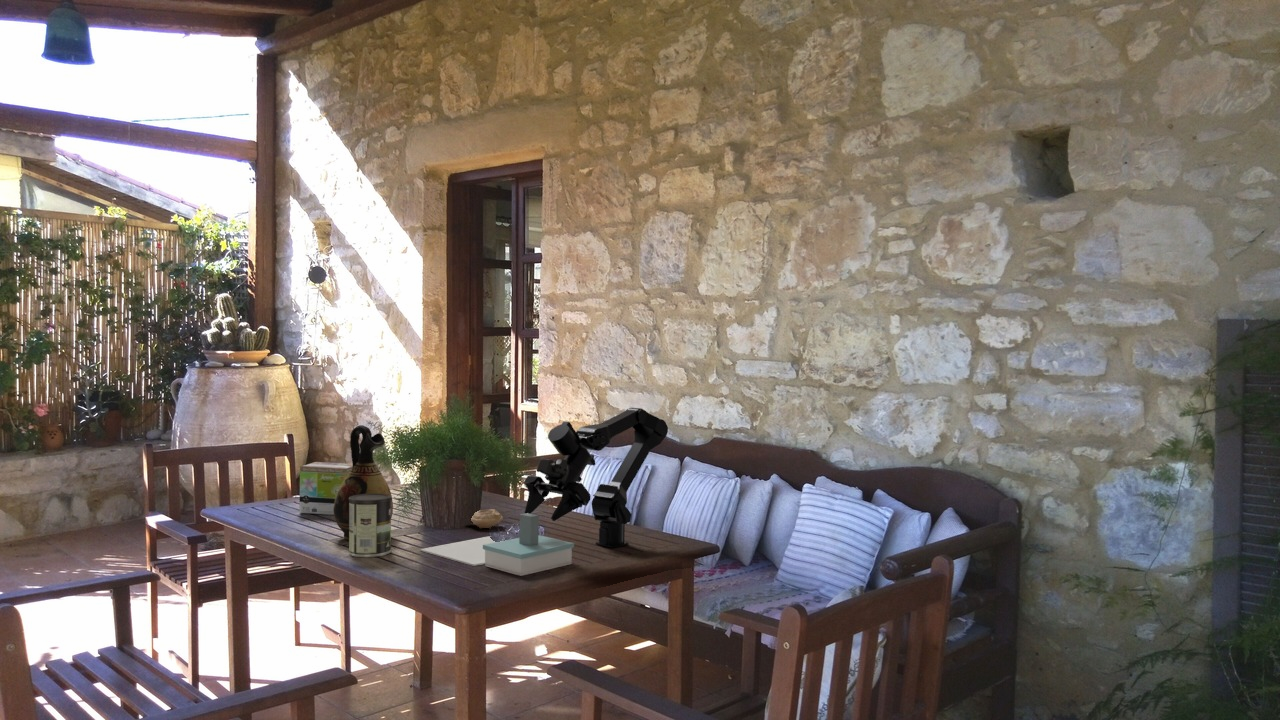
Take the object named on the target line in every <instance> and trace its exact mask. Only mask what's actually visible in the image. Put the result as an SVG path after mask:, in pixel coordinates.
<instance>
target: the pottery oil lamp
mask: <svg viewBox="0 0 1280 720" xmlns="http://www.w3.org/2000/svg"><path fill="white" fill-rule="evenodd" d="M503 519H504V517H503V515H502V514H501V513H500V512H499V511H498V510H496V509H495V508H492V509H481V510H479V511H477V512H475V513H474V515H473V516H472V518H471V521H472V522H473V525H475V526H477V528H478V527H479V528H478V529H482V528H489V529H492V528H493V527H494V526H496V525H497V524H499V523H500V522H501V521H502V520H503ZM492 526H493V527H492ZM491 527H492V528H491Z"/></svg>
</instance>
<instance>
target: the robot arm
mask: <svg viewBox="0 0 1280 720" xmlns="http://www.w3.org/2000/svg"><path fill="white" fill-rule="evenodd" d="M629 429H632V430H634V431H633V435H634V442H633V444H632V445H631V447H630V448H629V450H628V452H627V454H626V456H625V457H624V459H623V461H622V462H621V464H620V465H619V467H618V469H617V471H616V472H615V475H614V476H613V478H612V479H611V481H610V482H609V483H608V484H605V483H600V485H598V488H597V489H596V491H595V493H593V495H592V496H591V494H590V492H589V491H588V489H587V487H585V485H584V484H583V483H582V480H583V478H582V476H581V475H582V474H583V472H584V471H585V469H586V467H587V465H588V466H595V465H596V460H595V454H591V453H590V451H602V450H603V449H604V448H606V447H607V446H608V445H609V444H610V442H611V439H613V437H616V436H618V435H620V434H622V433H624V432H626V431H627V430H629ZM668 430H669V428H668V425H667V423H666V421H665V420H664V419H662V418H659V417H657V416H655V415H653V414H651V413H649V411H646V410H645V409H643V408H642V407H640V408H639V407H629V408H627V409H626V410H624V411H622V412H621V413H619V414H617V415H615V416H613V417H611V418H608V419H606V420H605V421H602V422H601V423H597V424H589V425H583V426H581V427H579V428H578V429H577V431H576V430H575V428H574V427H573V424H571V422H570V421H566V420H563V421H562V423H561V424H558V425H556V426H555V427H552V428H551V429H550V431H549V432H548V434H547V438H548V440H549V441H550V443H551V444H552V445H553V447H554V448H555V450H556V451H557V452H558V454H559V455H560V456H565V457H564V458H563V459H562V458H559V459H557V460H553V459H547V458H540V459H539V462H538V464H537V467H536V470H535V471H536V472H537V473H539V472H540V473H541V474H543V475H545V476H544V478H545V480H546V481H548V483H547V482H545V480H544V479H543V478H542V476H536V475H527V476H526V478H525V479H524V480H523V484H524V485H525V488H526V489H527V491H528V497H527V502H526V505H525V510H524V514H525V513H530V514H533V512H534V511H535V510H536V509H537V508H538V507H539V506H541V504H543V502H544V501H546V499H545V498H546V497H547V496H548V495H549V494H550V493H553V494H558V495H561V499H560V500H559V503H558V505H557V506H556V508H555V510H554V511H553V513H552V515H551V517H550V519H551V521H552V522H555V521H557V520H558V519H561V518H562V517H564V516H565V515H567V514H569V513H571V512H572V511H574V510H577V509H579V508H582V507H583V506H585V507H587V506H588V504H589V503H590V501H591V497H593V498H592V501H591V509H592V512H593V517H594V521H600V522H599V528H598V531H599V532H598V541H595V545H599V546H603V547H607V548H611V549H612V548H618V547H621V546H626V545H627V546H628V545H629V544H630V542H628V541H625V538H626V537H625V536H626V535H625V534H626V533H625V530H626V529H625V525H626V524H627V525H628V523H630V522H631V519H632V517H633V516H632V513H631V512H630V510H629V509H628V507H627V504H628V495H627V494H628V493H627V492H628V491H629V488H630V487H631V485H632V483H633V482H634V480H635V478H636V476H637V474H638V473H639V471H640V469H641V468H642V466H643V464H644V462H645V461H646V459H647V457H648V455H649V454H650V453H651V452H650V451H652V450H653V449H655V448H657V447H658V446H660V445H661V444H662V442H663V441H664V440H665V439H666V437H667V435H668ZM589 450H590V451H589Z"/></svg>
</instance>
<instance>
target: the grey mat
mask: <svg viewBox="0 0 1280 720" xmlns="http://www.w3.org/2000/svg"><path fill="white" fill-rule="evenodd" d="M490 537H491V536H489V535H487V536H483V537H478V538H473V539H467V540H462V541H457V542H451V543H447V544H441V545H436V546H429V547H425V548H420V549H419V551H420V552H423V553H427V554H431V555H433V556H436V557H441V558H445V559H448V560H450V561H451V560H452V561H455V562H458V563H461V564H465V565H469V566H472V567H477V566H481V565H485V550H484V549H483V545H485V544H490V543H495V541H493V540H492V539H491V538H490Z"/></svg>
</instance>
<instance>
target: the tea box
mask: <svg viewBox="0 0 1280 720" xmlns="http://www.w3.org/2000/svg"><path fill="white" fill-rule="evenodd" d="M352 467H353V463H344V462H343V463H342V462H321V461H314V462H311V463H308V464H304V465H300V466H299V499H298V500H299V506H298V507H299V510H298V511H299V514H313V515H314V514H315V515H327V516H328V515H329V516H334V512H333V508H334V502H335V498H336V495H337V493H338V490H339V488H340V486H341V484H342V483H343V481H344V480H345V478H346V476H347V475H348V473H350V471H351V470H352Z"/></svg>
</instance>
